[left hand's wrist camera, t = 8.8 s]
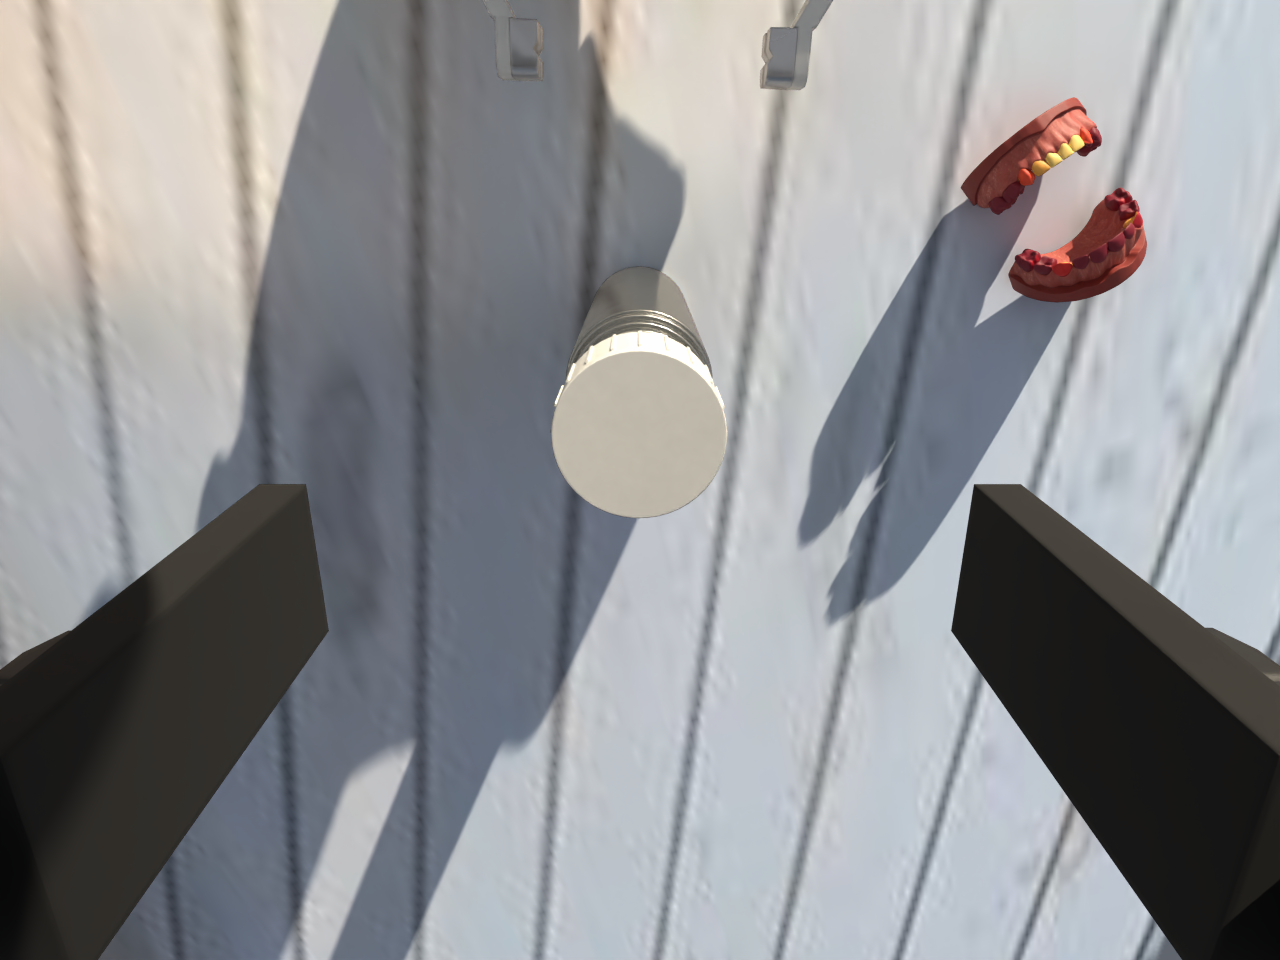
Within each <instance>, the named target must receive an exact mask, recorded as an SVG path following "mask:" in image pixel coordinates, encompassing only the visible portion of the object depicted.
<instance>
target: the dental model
mask: <svg viewBox="0 0 1280 960" xmlns="http://www.w3.org/2000/svg"><path fill="white" fill-rule="evenodd" d="M1101 142H1102V138H1101V135H1100V132H1099V130H1098V129H1097V126H1096V124H1095V123H1094V122H1092V121H1091V120H1090V119H1089V118H1088V117H1087V116H1086V110H1085V108H1084V107H1083V105H1082V104H1081V103H1080V101H1079V100H1078V99H1077V98H1070V99H1067V100H1065V101H1063V102H1062V103H1060V104H1058V105H1056V106H1055V107H1053V108H1051V109H1049V110H1048V111H1046V112H1045V113H1043V114H1042V115H1040V116H1039V117H1037V118H1035V119H1034V120H1033V121H1031V122H1030V123H1029V124H1027V125H1026V126H1025V127H1023V128H1022V129H1021V130H1019V131H1018V132H1017V133H1016V134H1014V135H1013V136H1012V137H1010V138H1009V139H1008V140H1007V141H1005V142H1004V143H1003V144H1001V145H1000V146H999V147H998V148H997V149H996V150H994V151H993V152H992V153H991V154H990V155H989V156H988V157H987V158H986V159H985V160H984V161H982V162H981V163H980V164H979V166H978V167H977V168H976V169H975V170H974V171H973V172H972V173H971V174H970V175H969V176H968V178H967V179H966V180H965V181H964V183H963V185H962V186H961V189H962V190H963V191H964V193H965V194H966V196H967V197H968V198H969V200H970V201H971V203H972V204H973V205H976V204H977V205H978V206H980V207H982V208H989V207H990V209H991V210H992V212H993V213H995V214H997V215H999V214H1000V213H1002V212H1003V211H1004V210H1006V209H1009V208H1010V207H1011V205H1013V204H1014V203H1015V202H1016V200H1017V197H1018V196H1019V194H1022V193H1023V191H1024V188H1025V186H1026V185H1032V184H1033V182H1034V180H1035V175H1036V176H1040V175H1042V174H1044V173H1045V172H1047V171H1048V170H1049V169H1050V167H1051V168H1052V167H1054V166H1056V165H1057V164H1059V163H1060V162H1062V159H1063V160H1064V159H1066V158H1067V157H1069V156H1070V155H1072V154H1073V153H1074V152H1077V153H1078V154H1079V155H1080V156H1087V155H1088V154H1089V153H1090V152H1091V151H1093V150H1095V149H1097V147H1099V146H1100V145H1101ZM1056 153H1058V154H1059V155H1060V156H1059V155H1058V154H1056ZM1060 157H1061V158H1062V159H1061V158H1060ZM1045 161H1046V162H1045ZM1031 170H1032V171H1033V172H1032V171H1031ZM1034 174H1035V175H1034ZM1146 247H1147V241H1146V236H1145V232H1144V228H1143V220H1142V217H1141V215H1140V213H1139V206H1138V204H1137V201H1136V200H1133V201H1132V196H1131V195H1130V193H1129V192H1128V191H1125V190H1124V189H1123V188H1118V189H1116V190H1115V191H1114V192H1113V193H1112V194H1111V195H1107V196H1106V197H1105V199H1104V200H1103V201H1101V202H1100V203H1099V204H1098V205H1097V206H1096V208H1095V209H1094V211H1093V213H1092V216H1091V218H1090V220H1089V222H1088V223H1087V225H1086V226H1085V227H1084V229H1083V230H1082V231H1081V232H1080V233H1079V234H1078V235H1077V236H1076V237H1075V238H1074V239H1073V240H1072V241H1070V242H1069V243H1068V244H1066V245H1065V246H1063V247H1061V248H1060V249H1058V250H1056V251H1053V252H1051V253H1047V254H1041V255H1040V254H1039V253H1038V252H1037V251H1033V250H1030V249H1025V250H1024V251H1023V253H1022V254H1019V255H1016V256H1015V263H1014V264H1013V266H1012V268H1011V270H1010V272H1009V274H1008V275H1009V278H1010V281H1011V284H1012V287H1013V289H1014V290H1015V291H1017V292H1019V293H1021V294H1022V295H1024V296H1027V297H1029V298H1032V299H1036V300H1040V301H1048V302H1069V301H1078V300H1082V299H1086V298H1090V297H1093V296H1096V295H1099V294H1102V293H1104V292H1106V291H1108V290H1110V289H1112V288H1114V287H1116V286H1118V285H1119V284H1121V283H1122V282H1124V281H1125V280H1126V279H1128V278H1129V277H1130V276H1131V275H1132V274H1133V273H1134V272H1135V271H1136V270H1137V268H1138V267H1139V266H1140V265H1141V263H1142V261H1143V259H1144V257H1145V254H1146Z"/></svg>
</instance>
